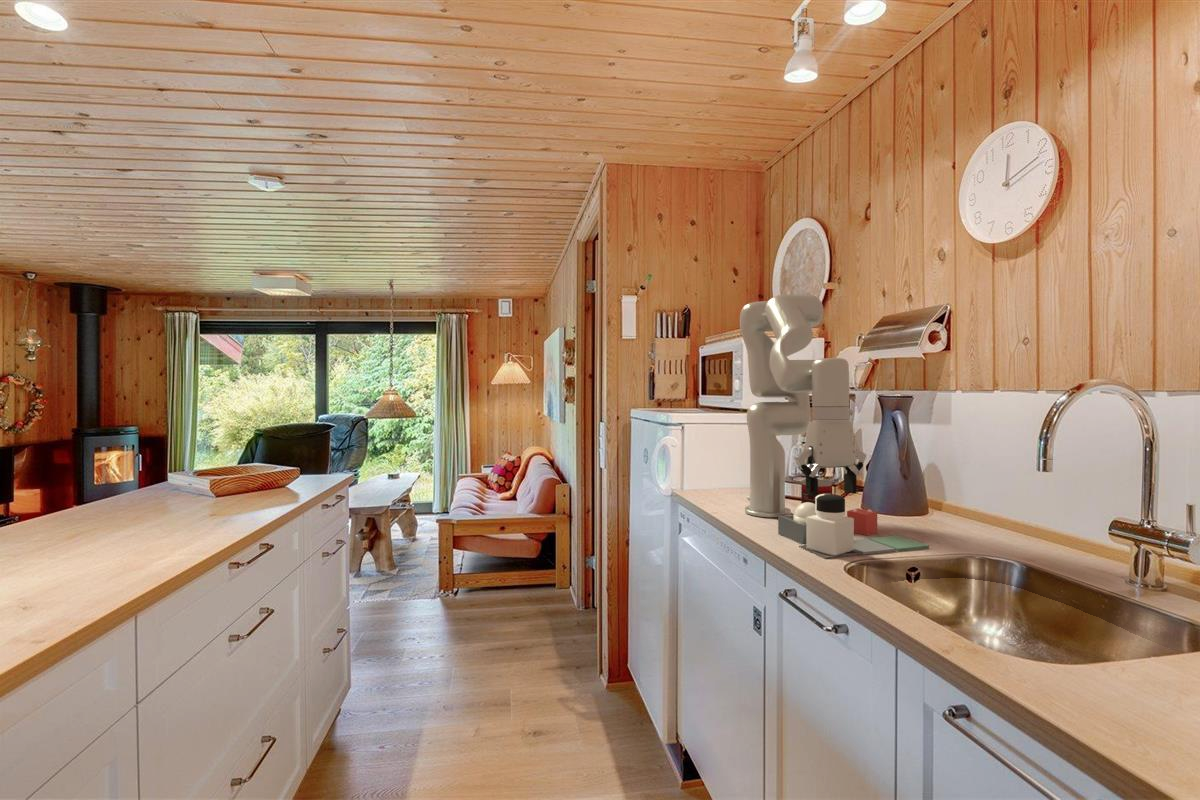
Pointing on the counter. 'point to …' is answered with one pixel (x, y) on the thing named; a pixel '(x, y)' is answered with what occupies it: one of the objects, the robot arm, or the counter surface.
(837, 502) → the medicine bottle
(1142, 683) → the counter surface
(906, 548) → the game board
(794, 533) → the base
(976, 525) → the counter surface
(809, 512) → the dome
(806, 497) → the canned food
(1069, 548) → the counter surface
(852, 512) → the red die
